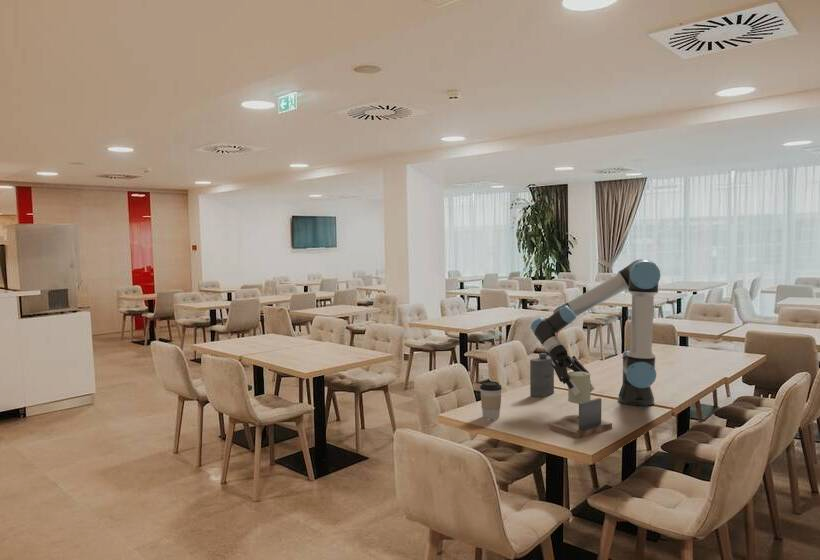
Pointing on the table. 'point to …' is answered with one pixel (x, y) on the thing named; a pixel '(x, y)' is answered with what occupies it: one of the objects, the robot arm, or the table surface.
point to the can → (579, 387)
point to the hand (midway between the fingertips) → (585, 392)
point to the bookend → (590, 415)
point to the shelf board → (576, 427)
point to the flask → (541, 376)
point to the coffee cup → (490, 399)
